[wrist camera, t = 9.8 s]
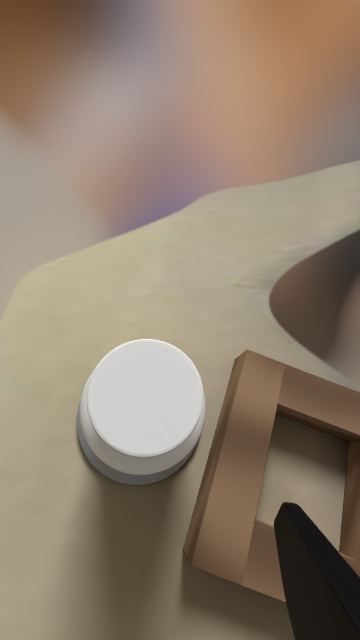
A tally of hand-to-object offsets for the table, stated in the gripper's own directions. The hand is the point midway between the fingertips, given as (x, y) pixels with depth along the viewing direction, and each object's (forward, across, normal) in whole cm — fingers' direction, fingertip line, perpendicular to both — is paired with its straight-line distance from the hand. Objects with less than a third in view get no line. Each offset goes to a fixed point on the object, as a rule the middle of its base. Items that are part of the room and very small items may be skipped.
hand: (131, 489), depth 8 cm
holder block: (+8, -11, +7) cm, 15 cm away
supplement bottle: (+9, 0, +5) cm, 11 cm away
